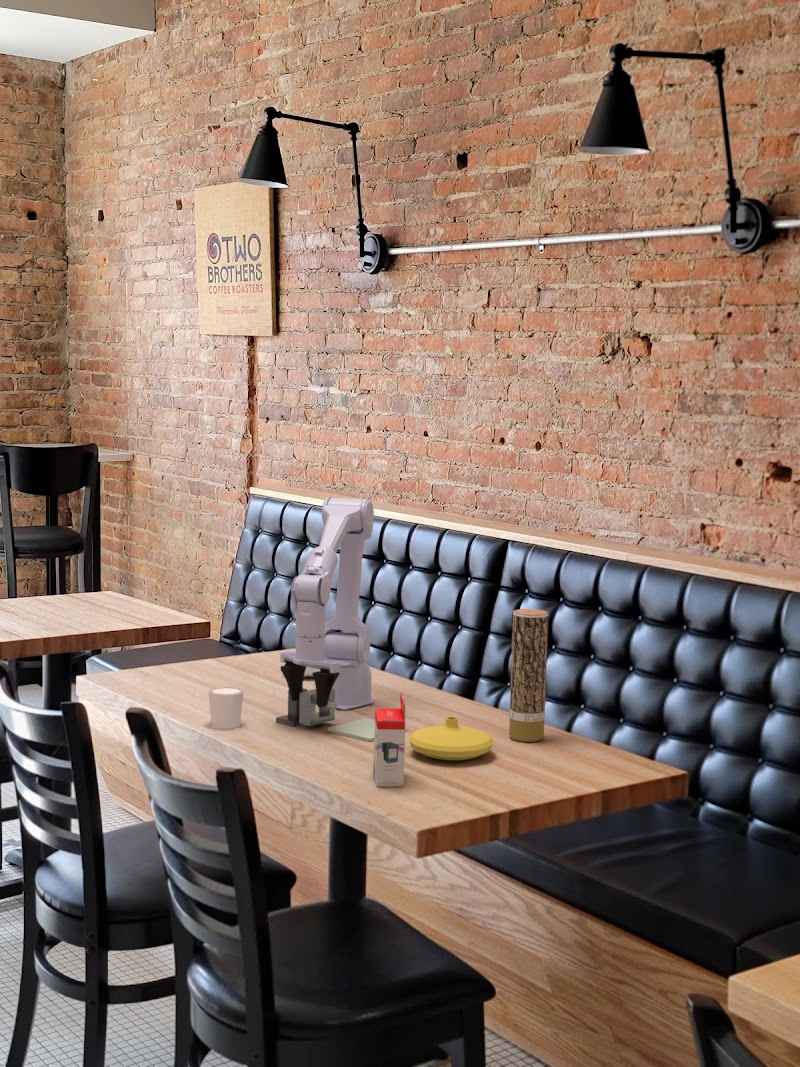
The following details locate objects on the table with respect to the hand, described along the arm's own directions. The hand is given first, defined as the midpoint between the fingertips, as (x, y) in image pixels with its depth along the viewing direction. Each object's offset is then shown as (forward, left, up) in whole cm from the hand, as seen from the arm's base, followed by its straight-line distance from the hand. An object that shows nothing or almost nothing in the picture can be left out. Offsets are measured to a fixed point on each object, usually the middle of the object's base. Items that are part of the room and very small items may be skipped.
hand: (309, 703), depth 264 cm
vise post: (-2, -2, -5) cm, 6 cm away
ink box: (+15, +33, -5) cm, 37 cm away
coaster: (-7, +9, -5) cm, 13 cm away
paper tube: (-25, +35, -5) cm, 43 cm away
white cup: (+10, -14, -5) cm, 17 cm away
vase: (-5, +31, -6) cm, 32 cm away
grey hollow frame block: (-2, 0, -5) cm, 6 cm away
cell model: (-33, -33, -5) cm, 47 cm away
